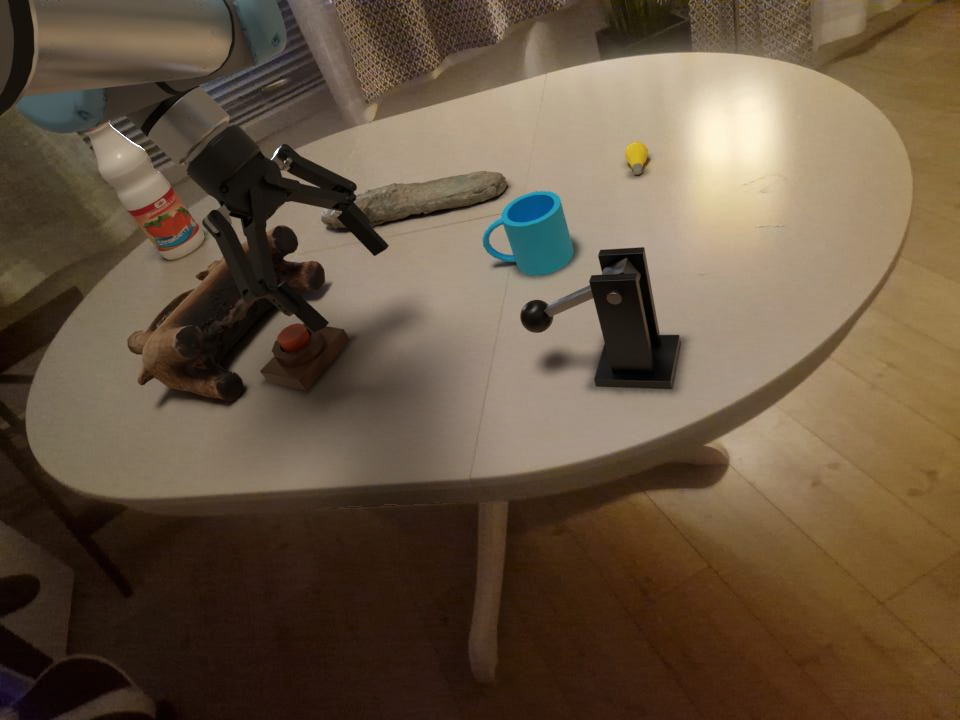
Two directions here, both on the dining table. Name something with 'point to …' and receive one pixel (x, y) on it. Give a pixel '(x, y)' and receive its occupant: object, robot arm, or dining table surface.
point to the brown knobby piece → (214, 323)
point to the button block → (305, 359)
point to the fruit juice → (145, 193)
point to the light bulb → (636, 156)
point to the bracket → (631, 327)
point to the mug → (534, 234)
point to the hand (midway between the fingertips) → (353, 287)
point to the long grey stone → (422, 197)
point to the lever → (565, 301)
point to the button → (293, 337)
